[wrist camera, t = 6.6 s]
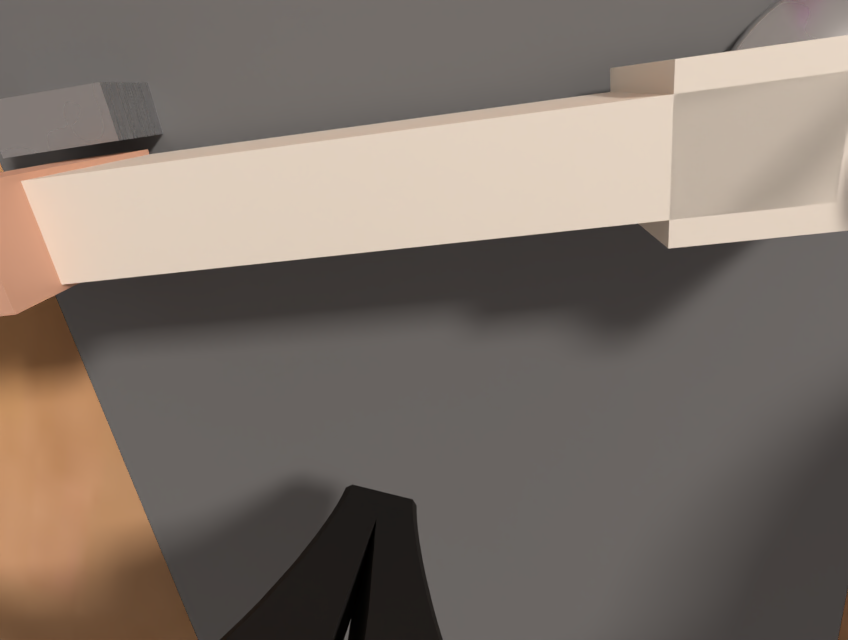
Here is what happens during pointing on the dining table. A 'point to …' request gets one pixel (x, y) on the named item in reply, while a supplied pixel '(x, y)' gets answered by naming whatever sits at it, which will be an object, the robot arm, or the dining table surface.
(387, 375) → the mat
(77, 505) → the dining table surface
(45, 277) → the gate
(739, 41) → the post
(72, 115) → the post
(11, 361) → the dining table surface
